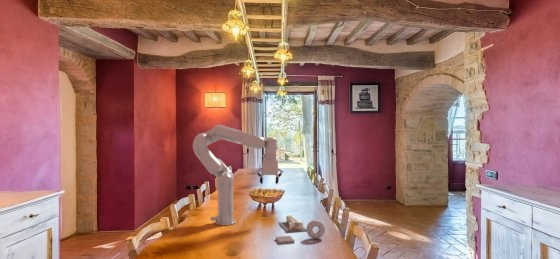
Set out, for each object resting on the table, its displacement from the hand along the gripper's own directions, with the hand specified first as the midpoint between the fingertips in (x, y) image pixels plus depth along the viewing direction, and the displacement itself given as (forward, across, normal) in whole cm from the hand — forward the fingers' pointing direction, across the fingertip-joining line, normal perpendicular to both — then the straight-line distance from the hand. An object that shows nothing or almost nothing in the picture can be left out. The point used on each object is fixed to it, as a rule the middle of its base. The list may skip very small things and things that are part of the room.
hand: (269, 183), depth 213 cm
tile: (+23, +2, -35) cm, 42 cm away
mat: (+24, +12, -15) cm, 30 cm away
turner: (+23, +13, -14) cm, 30 cm away
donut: (+23, +19, -38) cm, 49 cm away
